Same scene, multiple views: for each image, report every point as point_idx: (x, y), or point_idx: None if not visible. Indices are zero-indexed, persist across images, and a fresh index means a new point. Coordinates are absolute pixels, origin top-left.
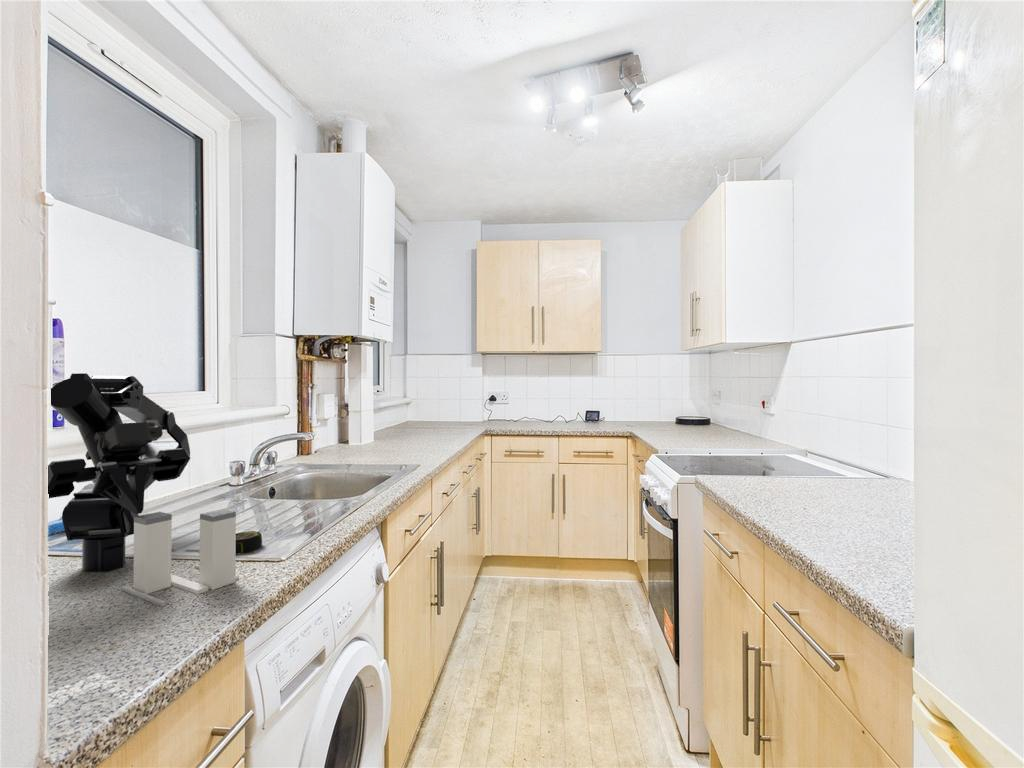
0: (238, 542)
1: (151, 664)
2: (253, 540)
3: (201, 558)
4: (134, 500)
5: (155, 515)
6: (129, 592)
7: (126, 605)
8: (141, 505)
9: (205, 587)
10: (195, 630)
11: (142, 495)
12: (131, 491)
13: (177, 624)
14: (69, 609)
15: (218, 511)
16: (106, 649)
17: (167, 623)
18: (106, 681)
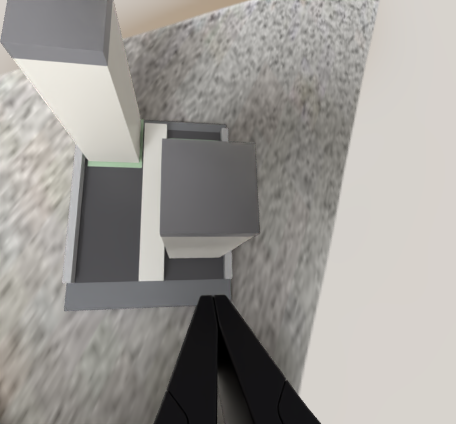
0: None
1: (296, 17)
2: None
3: (130, 128)
4: (235, 331)
5: (204, 178)
6: None
7: None
8: (206, 306)
9: (150, 123)
10: (227, 44)
11: (188, 354)
12: (249, 382)
13: (231, 81)
14: (303, 297)
15: (40, 23)
16: (313, 94)
17: (237, 96)
18: (335, 26)
